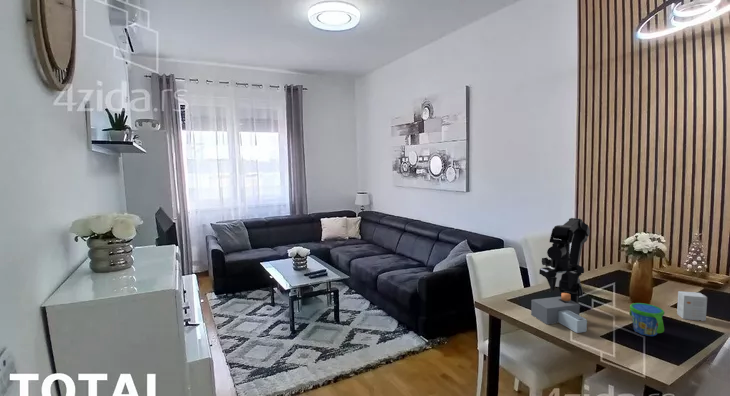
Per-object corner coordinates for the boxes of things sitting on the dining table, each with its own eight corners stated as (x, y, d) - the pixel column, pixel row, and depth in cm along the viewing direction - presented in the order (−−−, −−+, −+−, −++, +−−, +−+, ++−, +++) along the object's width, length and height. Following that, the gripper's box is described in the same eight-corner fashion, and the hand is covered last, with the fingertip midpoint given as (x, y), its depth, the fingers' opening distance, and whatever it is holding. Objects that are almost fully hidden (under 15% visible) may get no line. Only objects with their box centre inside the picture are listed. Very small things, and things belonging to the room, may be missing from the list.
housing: (562, 311, 166) (562, 296, 166) (579, 320, 156) (579, 304, 156) (531, 314, 163) (531, 299, 162) (546, 324, 153) (547, 308, 152)
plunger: (566, 299, 162) (566, 292, 162) (572, 302, 159) (572, 295, 158) (559, 300, 162) (559, 293, 161) (565, 303, 158) (565, 296, 158)
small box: (699, 316, 158) (700, 292, 157) (706, 321, 153) (707, 297, 151) (676, 313, 160) (677, 290, 159) (682, 319, 155) (684, 295, 154)
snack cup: (673, 343, 136) (675, 316, 135) (642, 341, 137) (643, 315, 136) (648, 324, 151) (649, 300, 150) (620, 323, 153) (621, 299, 152)
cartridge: (553, 312, 164) (553, 301, 163) (586, 331, 146) (586, 318, 145) (544, 313, 163) (544, 302, 162) (576, 333, 145) (577, 320, 144)
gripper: (565, 248, 169) (564, 281, 170) (531, 252, 164) (530, 285, 166) (585, 254, 158) (584, 289, 160) (549, 258, 153) (548, 294, 155)
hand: (561, 289), depth 160 cm, fingers open, 9 cm apart
